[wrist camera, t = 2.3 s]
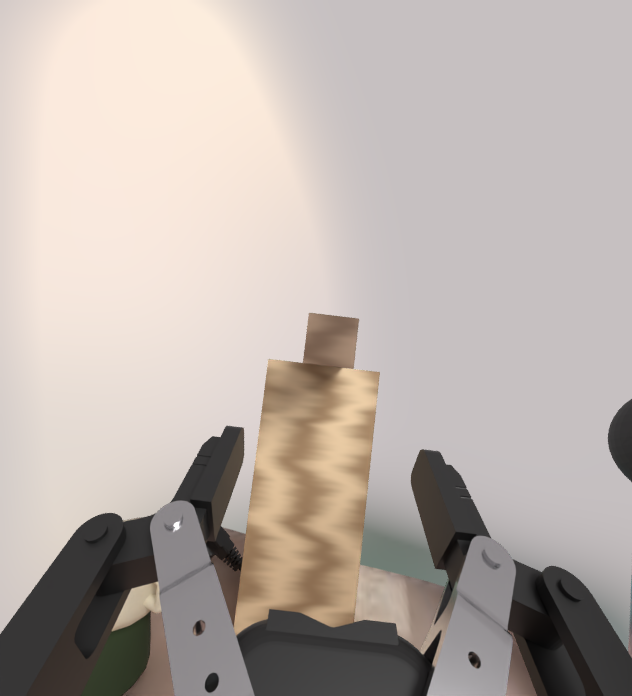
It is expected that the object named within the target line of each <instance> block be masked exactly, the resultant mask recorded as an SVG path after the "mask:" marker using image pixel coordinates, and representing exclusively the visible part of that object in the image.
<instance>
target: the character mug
mask: <svg viewBox="0 0 632 696" xmlns="http://www.w3.org/2000/svg"><path fill="white" fill-rule="evenodd" d="M134 519H138V518H134ZM128 520H133V519H128ZM128 520H124V521H128ZM159 593H160V590H159V583H158V582H155V583H151V584H147V585H144V586H140V587H136V588H132V589H131V591H130V593H129V595H128V597H127V600H126V602H125V604H124V606H123V608H122V610H121V612H120V614H119V616H118V619H117V621H116V623H115V625H114V627H113V629H112V631H111V633H110V635H109V637H108V640H107V642H106V644H105V646H104V648H103V650H102V652H101V654H100V656H99V659H98V661H97V663H96V665H95V667H94V669H93V671H92V673H91V675H90V678H89V680H88V682H87V684H86V686H85V688H84V690H83V692H82V694H81V696H122V695H123V694H124V693H125V692H126V691H127V690H128V689H129V688H130V687H131V686H132V685H134V683H135V682H136V681H137V679H138V678H139V676H140V675H141V674H142V672H143V671H144V670H145V668H146V665H147V662H148V658H149V655H150V611H152V612H153V613H162V611H161V605H160V597H159Z"/></svg>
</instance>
